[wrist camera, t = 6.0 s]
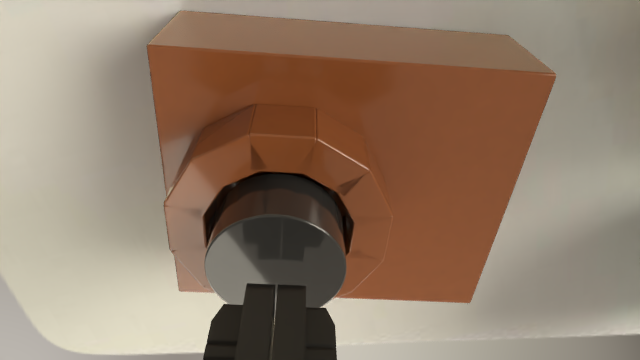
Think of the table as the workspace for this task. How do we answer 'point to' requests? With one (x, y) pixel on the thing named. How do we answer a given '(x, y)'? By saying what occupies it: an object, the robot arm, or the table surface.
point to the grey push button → (277, 239)
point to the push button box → (349, 138)
